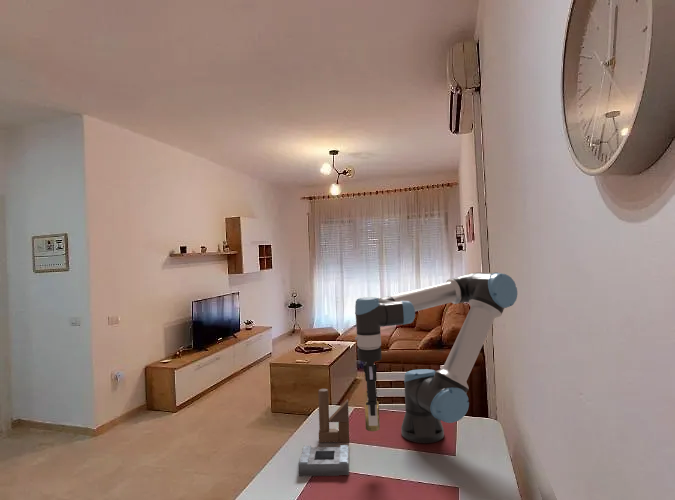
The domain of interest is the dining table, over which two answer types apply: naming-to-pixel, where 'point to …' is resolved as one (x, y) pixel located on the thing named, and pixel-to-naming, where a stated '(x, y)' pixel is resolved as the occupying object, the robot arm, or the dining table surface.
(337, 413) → the brown wooden stand
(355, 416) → the dining table surface
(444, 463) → the dining table surface
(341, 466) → the jig
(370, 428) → the bushing
